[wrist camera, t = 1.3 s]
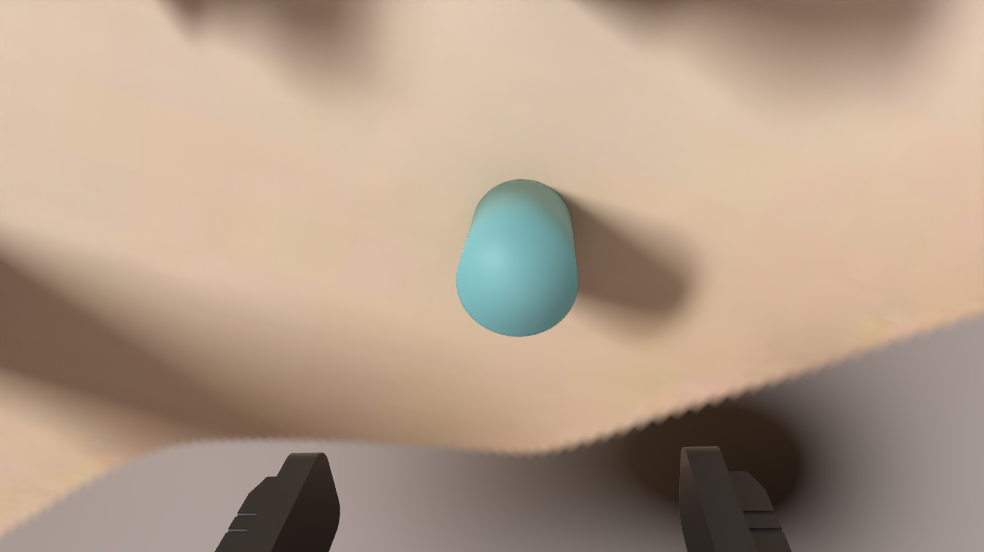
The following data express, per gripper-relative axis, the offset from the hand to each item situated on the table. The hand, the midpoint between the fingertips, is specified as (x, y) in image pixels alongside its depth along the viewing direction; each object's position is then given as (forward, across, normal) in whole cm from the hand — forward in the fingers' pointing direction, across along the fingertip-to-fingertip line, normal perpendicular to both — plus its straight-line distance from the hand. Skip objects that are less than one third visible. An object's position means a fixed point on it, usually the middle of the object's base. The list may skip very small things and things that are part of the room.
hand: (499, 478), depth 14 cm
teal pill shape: (+16, 0, 0) cm, 16 cm away
